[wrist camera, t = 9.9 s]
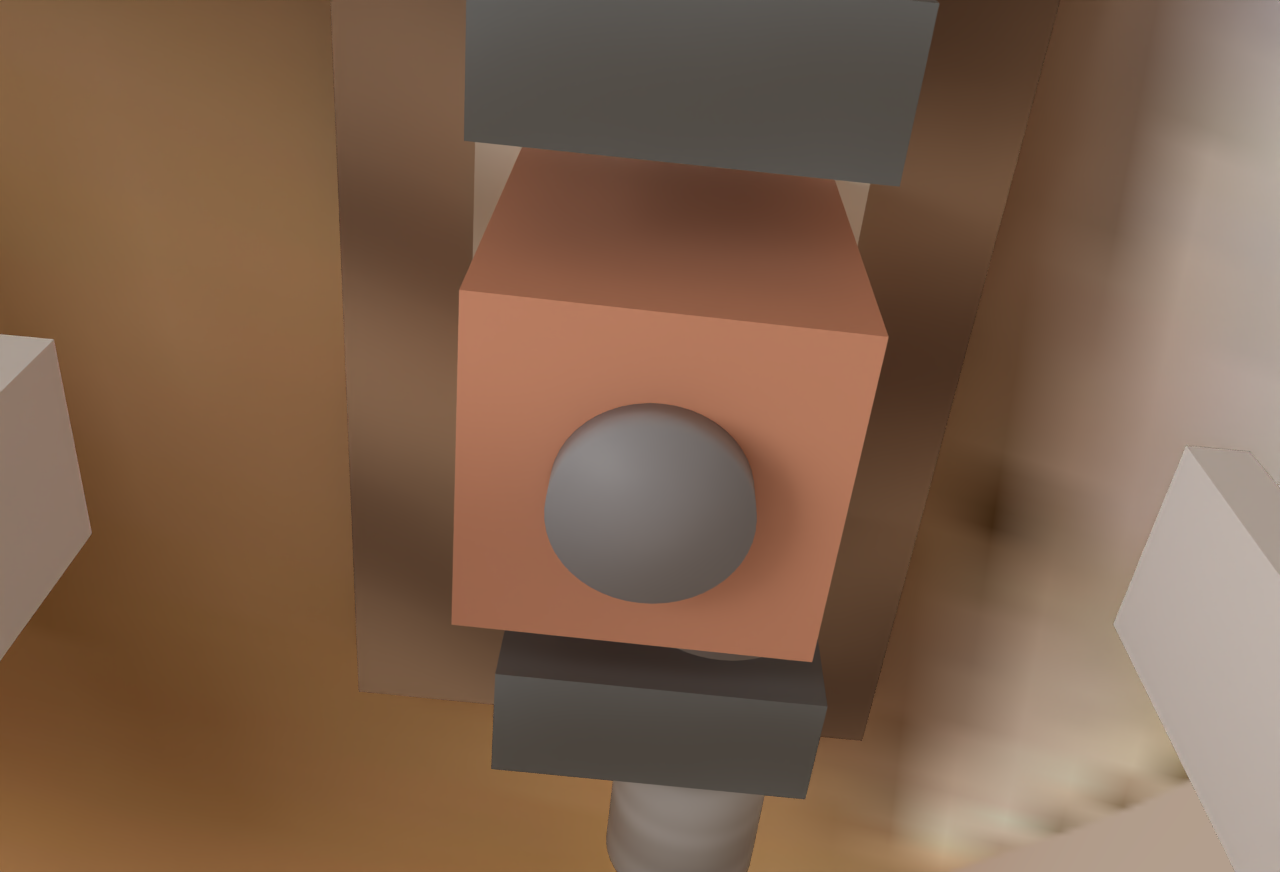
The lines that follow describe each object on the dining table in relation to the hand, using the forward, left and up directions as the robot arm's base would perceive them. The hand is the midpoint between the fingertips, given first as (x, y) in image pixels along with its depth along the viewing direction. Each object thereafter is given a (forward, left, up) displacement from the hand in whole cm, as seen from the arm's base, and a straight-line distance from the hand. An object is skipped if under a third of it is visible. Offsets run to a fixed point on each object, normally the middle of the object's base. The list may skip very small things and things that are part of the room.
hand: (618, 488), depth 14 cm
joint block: (0, 0, -7) cm, 7 cm away
